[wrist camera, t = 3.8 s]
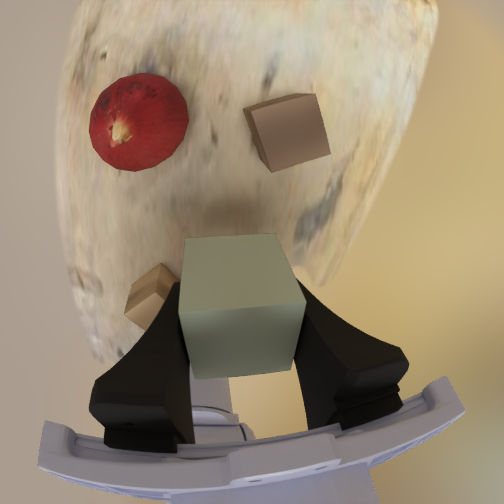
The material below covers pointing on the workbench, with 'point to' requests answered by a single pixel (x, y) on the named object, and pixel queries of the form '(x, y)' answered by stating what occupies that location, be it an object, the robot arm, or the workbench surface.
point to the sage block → (239, 306)
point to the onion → (138, 122)
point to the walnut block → (288, 130)
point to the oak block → (149, 295)
